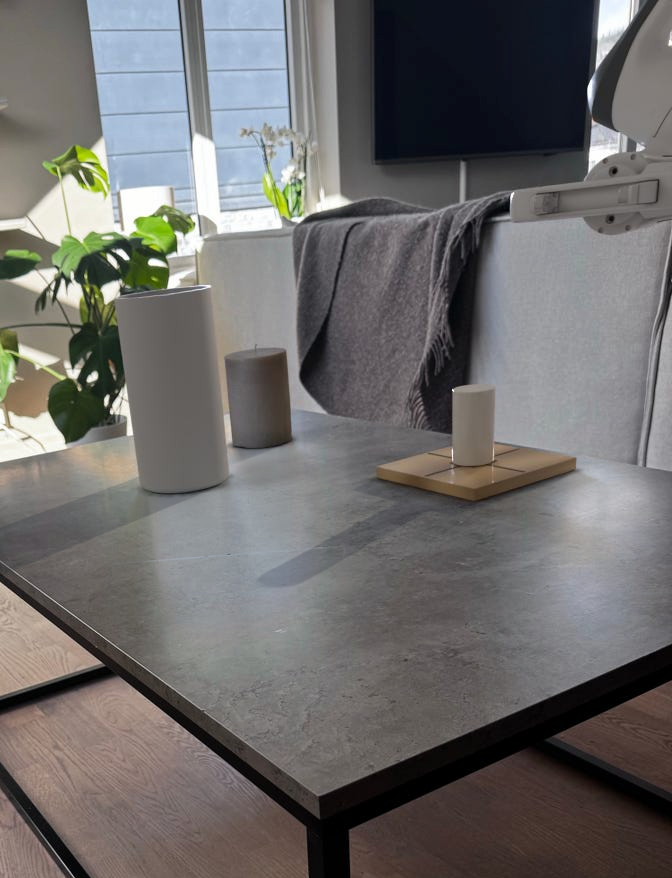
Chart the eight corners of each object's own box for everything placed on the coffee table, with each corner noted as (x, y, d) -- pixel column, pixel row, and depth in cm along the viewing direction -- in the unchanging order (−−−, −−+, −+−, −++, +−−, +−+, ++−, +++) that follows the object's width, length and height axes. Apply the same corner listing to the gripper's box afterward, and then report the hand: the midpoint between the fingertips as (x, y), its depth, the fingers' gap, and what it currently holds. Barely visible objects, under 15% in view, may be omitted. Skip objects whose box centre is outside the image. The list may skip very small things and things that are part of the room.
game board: (576, 469, 112) (576, 456, 111) (474, 501, 105) (474, 487, 104) (472, 450, 126) (472, 439, 125) (376, 477, 118) (376, 465, 118)
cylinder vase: (142, 499, 121) (114, 301, 111) (138, 477, 133) (113, 295, 123) (235, 487, 122) (216, 288, 112) (223, 466, 133) (205, 283, 123)
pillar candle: (292, 432, 149) (286, 336, 143) (293, 445, 140) (286, 344, 134) (233, 437, 150) (224, 343, 144) (230, 451, 142) (220, 351, 136)
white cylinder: (490, 454, 116) (492, 382, 113) (496, 464, 112) (498, 389, 108) (450, 457, 117) (450, 386, 114) (454, 467, 113) (454, 393, 109)
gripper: (535, 175, 114) (488, 180, 105) (719, 151, 101) (683, 154, 92) (533, 230, 116) (487, 240, 107) (712, 214, 104) (677, 222, 94)
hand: (579, 200), depth 99 cm, fingers open, 8 cm apart
